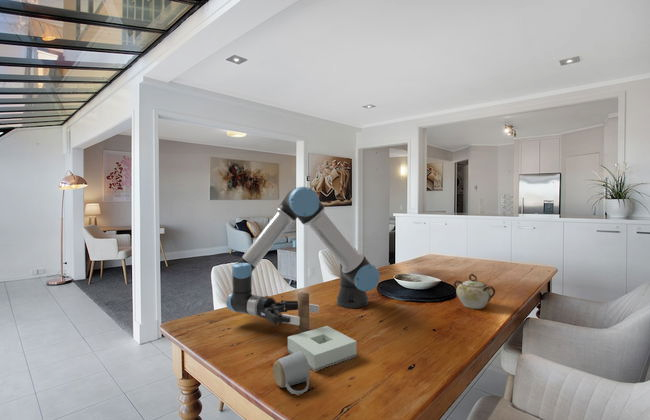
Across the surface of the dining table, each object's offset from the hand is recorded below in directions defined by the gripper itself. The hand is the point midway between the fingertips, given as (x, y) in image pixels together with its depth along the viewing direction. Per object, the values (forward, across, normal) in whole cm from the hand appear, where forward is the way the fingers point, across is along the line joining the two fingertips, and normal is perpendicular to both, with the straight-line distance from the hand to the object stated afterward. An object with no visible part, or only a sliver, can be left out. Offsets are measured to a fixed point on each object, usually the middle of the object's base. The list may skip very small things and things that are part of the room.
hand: (309, 314), depth 118 cm
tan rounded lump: (-37, -26, -9) cm, 46 cm away
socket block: (+9, +8, -9) cm, 15 cm away
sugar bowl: (+50, -66, -9) cm, 83 cm away
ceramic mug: (+11, +27, -9) cm, 30 cm away
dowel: (-2, 0, -9) cm, 9 cm away
